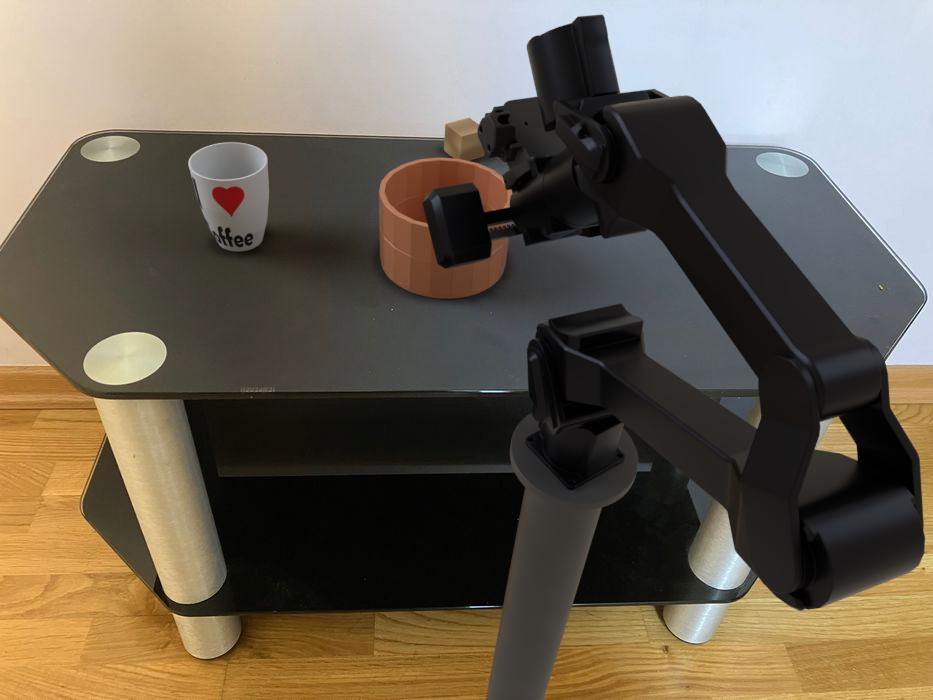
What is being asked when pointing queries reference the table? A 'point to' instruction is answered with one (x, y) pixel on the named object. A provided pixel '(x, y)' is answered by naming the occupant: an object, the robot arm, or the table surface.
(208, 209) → the cup
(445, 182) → the bowl
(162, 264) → the table surface
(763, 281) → the robot arm
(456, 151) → the block
